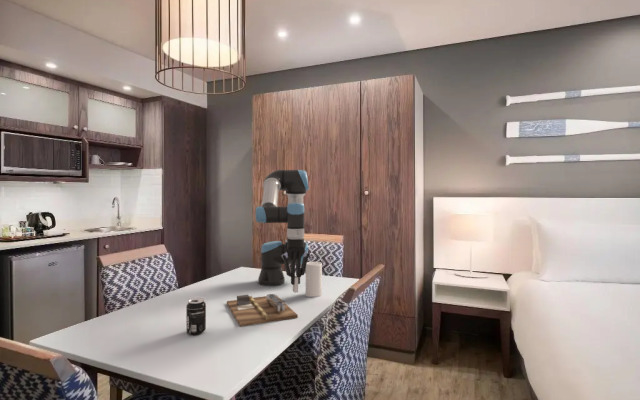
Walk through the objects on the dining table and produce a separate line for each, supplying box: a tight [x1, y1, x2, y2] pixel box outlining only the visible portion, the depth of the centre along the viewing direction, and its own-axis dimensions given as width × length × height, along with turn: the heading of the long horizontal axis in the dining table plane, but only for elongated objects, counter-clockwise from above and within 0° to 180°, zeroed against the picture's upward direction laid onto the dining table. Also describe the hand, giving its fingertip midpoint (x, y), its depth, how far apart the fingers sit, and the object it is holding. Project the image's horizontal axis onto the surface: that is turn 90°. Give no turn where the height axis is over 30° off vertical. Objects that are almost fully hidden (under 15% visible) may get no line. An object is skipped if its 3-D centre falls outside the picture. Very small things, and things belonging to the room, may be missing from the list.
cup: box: [305, 261, 323, 298], centre depth 178 cm, size 8×8×16 cm
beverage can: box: [185, 297, 207, 336], centre depth 130 cm, size 7×7×12 cm
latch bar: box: [265, 293, 285, 311], centre depth 154 cm, size 17×4×3 cm, turn 25°
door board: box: [226, 294, 299, 328], centre depth 154 cm, size 30×24×5 cm
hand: (295, 291), depth 153 cm, fingers closed
